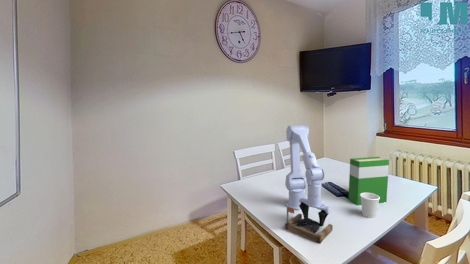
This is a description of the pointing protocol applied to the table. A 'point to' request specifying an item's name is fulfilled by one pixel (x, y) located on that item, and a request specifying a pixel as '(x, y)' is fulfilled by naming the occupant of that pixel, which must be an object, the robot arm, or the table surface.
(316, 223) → the gaming controller
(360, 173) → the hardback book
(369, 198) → the dixie cup
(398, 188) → the table surface
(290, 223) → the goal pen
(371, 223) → the table surface
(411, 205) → the table surface
